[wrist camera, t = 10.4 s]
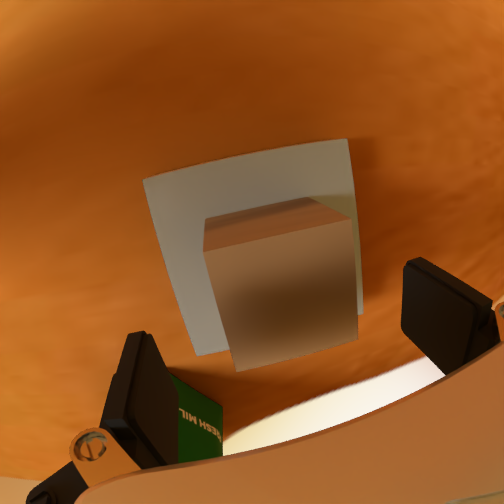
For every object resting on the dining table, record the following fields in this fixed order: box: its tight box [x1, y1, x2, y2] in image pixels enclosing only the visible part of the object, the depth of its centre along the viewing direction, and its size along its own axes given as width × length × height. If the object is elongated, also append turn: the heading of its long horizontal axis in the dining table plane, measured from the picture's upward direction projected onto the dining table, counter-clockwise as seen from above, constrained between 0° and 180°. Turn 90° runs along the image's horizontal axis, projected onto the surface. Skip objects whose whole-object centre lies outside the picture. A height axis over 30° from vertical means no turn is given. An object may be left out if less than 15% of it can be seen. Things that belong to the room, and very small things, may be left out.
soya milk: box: [169, 373, 223, 463], centre depth 15 cm, size 9×9×20 cm
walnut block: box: [203, 197, 358, 372], centre depth 16 cm, size 6×6×6 cm
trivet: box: [142, 138, 363, 356], centre depth 20 cm, size 12×12×2 cm
